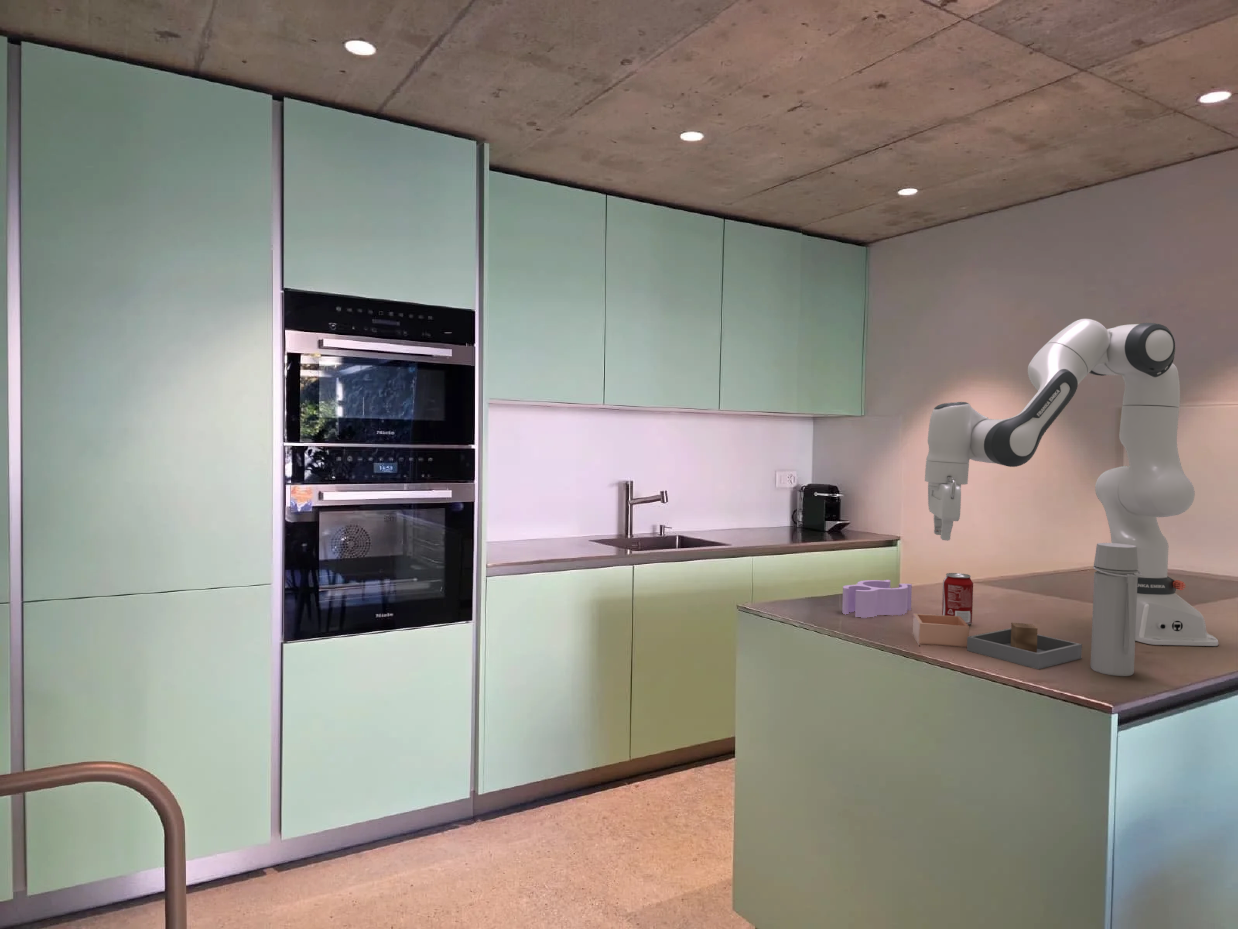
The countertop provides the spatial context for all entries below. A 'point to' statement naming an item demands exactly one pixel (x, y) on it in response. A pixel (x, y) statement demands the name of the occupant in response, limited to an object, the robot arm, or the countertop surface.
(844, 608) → the clip
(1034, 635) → the block
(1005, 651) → the tray
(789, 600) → the countertop surface
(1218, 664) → the countertop surface
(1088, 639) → the countertop surface
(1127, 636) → the water bottle
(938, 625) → the peach open box
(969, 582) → the soda can
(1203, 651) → the countertop surface
